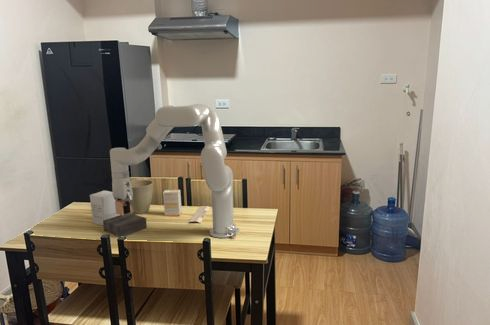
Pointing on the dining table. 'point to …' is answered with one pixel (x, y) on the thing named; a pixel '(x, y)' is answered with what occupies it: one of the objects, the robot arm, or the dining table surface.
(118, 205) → the terracotta block
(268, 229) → the dining table surface
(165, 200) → the supplement box
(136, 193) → the plant pot
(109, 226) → the black plinth
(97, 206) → the supplement box
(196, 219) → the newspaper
